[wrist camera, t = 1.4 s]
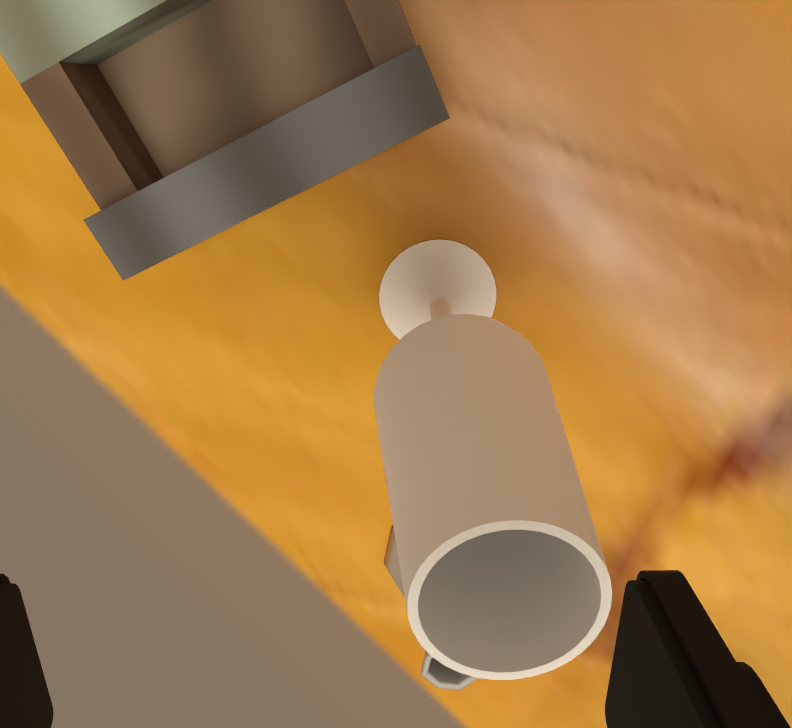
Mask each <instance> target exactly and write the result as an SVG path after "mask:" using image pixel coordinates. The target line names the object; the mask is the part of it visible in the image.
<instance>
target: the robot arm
mask: <svg viewBox="0 0 792 728" xmlns="http://www.w3.org/2000/svg"><path fill="white" fill-rule="evenodd" d="M605 716H606V723H607V728H790V726H789V725H788V723H787V721H786V720H785V718H784V717H783V715H782V713H781V712H780V710H779V709H778V707H777V705H776V704H775V702H774V701H773V699H772V697H771V696H770V694H769V693H768V691H767V689H766V688H765V686H764V685H763V683H762V681H761V680H760V678H759V677H758V675H757V674H756V673H755V672H754V670H753V669H752V668H751V667H750V666H748V665H747V664H746V663H744V662H736V661H735V659H734V658H733V656H732V654H731V653H730V651H729V649H728V648H727V646H726V644H725V643H724V641H723V639H722V638H721V636H720V634H719V633H718V631H717V629H716V628H715V626H714V624H713V623H712V621H711V619H710V618H709V616H708V614H707V613H706V611H705V609H704V608H703V606H702V604H701V603H700V601H699V599H698V598H697V596H696V594H695V593H694V591H693V589H692V588H691V586H690V584H689V583H688V581H687V580H686V578H685V576H684V575H683V574H682V573H681V572H680V571H678V570H668V571H640V572H639V574H638V576H637V579H636V580H630V581H628V582H627V583H626V587H625V592H624V598H623V604H622V610H621V616H620V621H619V627H618V633H617V639H616V645H615V651H614V656H613V662H612V668H611V674H610V680H609V685H608V691H607V697H606V703H605ZM52 720H53V706H52V703H51V699H50V696H49V692H48V688H47V685H46V681H45V678H44V674H43V670H42V667H41V663H40V660H39V656H38V653H37V649H36V646H35V642H34V638H33V635H32V631H31V628H30V624H29V621H28V617H27V613H26V610H25V607H24V603H23V599H22V595H21V592H20V589H19V587H18V586H17V585H16V584H12V583H10V581H9V579H8V577H6V576H5V575H4V574H0V728H51V725H52Z"/></svg>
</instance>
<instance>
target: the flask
mask: <svg viewBox="0 0 792 728" xmlns="http://www.w3.org/2000/svg"><path fill="white" fill-rule="evenodd" d="M384 564H385V566H386V568H387V569H388V571H389V573H390V574H391V576H392V578H393V579H394V581H395V582H396V584H397V586H398V587H399V589H400V591H401V592H402V594H403V596H404V597H405V595H404V589H403V583H402V577H401V570H400V564H399V558H398V552H397V546H396V539H395V533H394V527H393V528H392V529H391V534H390V539H389V543H388V548H387V552H386V557H385V561H384ZM421 675H422V676H423V677H424V678H426V679H427V680H428V681H429V682H431V683H432V684H433V685H434V686H435V687H437V688H444V689H452V690H461V689H463V688H464V687H466V686H467V685H469V684H470V683H472V682H473V681H475V680H476V679H478V678H477V677H473V676H469V675H466V674H462V673H459V672H457V671H455V670H453V669H451V668H448V667H446V666H444V665H443V664H442V663H440V662H439V661H437V660H436V659H434V658H433V657H432V656H431V655H430V654H429V653H428V652H427V651H426V650H425V657H424V661H423V665H422V669H421Z"/></svg>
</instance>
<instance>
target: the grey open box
mask: <svg viewBox="0 0 792 728" xmlns="http://www.w3.org/2000/svg"><path fill="white" fill-rule="evenodd" d="M0 54H1V55H2V57H3V58H4V60H5V61H6V63H7V64H8V66H9V68H10V69H11V71H12V72H13V74H14V75H15V77H16V78H17V80H18V82H19V83H20V85H21V86H22V88H23V89H24V91H25V93H26V94H27V96H28V97H29V99H30V100H31V102H32V103H33V105H34V107H35V108H36V110H37V111H38V113H39V114H40V116H41V117H42V119H43V121H44V122H45V124H46V125H47V127H48V128H49V130H50V131H51V133H52V135H53V136H54V138H55V139H56V141H57V142H58V144H59V146H60V147H61V149H62V150H63V152H64V153H65V155H66V156H67V158H68V160H69V161H70V163H71V164H72V166H73V167H74V169H75V170H76V172H77V174H78V175H79V177H80V178H81V180H82V181H83V183H84V184H85V186H86V188H87V189H88V191H89V192H90V194H91V195H92V197H93V199H94V200H95V202H96V203H97V205H98V206H99V208H100V209H101V211H99V212H97V213H96V214H94V215H92V216H90V217H88V218H86V219H84V221H85V223H86V225H87V226H88V228H89V229H90V231H91V232H92V234H93V235H94V237H95V238H96V240H97V241H98V243H99V244H100V246H101V247H102V249H103V250H104V252H105V254H106V255H107V257H108V258H109V260H110V261H111V263H112V264H113V266H114V267H115V269H116V270H117V272H118V273H119V275H120V276H121V278H122V279H123V280H125V279H127V278H129V277H131V276H133V275H135V274H137V273H139V272H141V271H143V270H145V269H147V268H149V267H151V266H153V265H155V264H157V263H159V262H161V261H163V260H165V259H168V258H170V257H172V256H174V255H176V254H178V253H180V252H182V251H184V250H186V249H188V248H190V247H192V246H194V245H196V244H198V243H200V242H202V241H204V240H206V239H208V238H210V237H212V236H214V235H216V234H218V233H220V232H222V231H224V230H226V229H228V228H230V227H232V226H234V225H236V224H238V223H240V222H242V221H244V220H246V219H248V218H250V217H252V216H254V215H256V214H258V213H260V212H262V211H264V210H266V209H268V208H270V207H272V206H274V205H276V204H278V203H280V202H282V201H284V200H286V199H288V198H290V197H292V196H294V195H296V194H298V193H300V192H302V191H304V190H306V189H308V188H310V187H312V186H314V185H316V184H318V183H320V182H322V181H324V180H326V179H328V178H330V177H332V176H334V175H336V174H338V173H340V172H342V171H344V170H346V169H348V168H350V167H352V166H354V165H356V164H358V163H360V162H362V161H364V160H366V159H368V158H370V157H372V156H374V155H376V154H378V153H380V152H382V151H384V150H386V149H388V148H390V147H392V146H394V145H396V144H399V143H401V142H403V141H405V140H407V139H409V138H411V137H413V136H415V135H417V134H419V133H421V132H423V131H425V130H427V129H429V128H431V127H433V126H435V125H437V124H439V123H441V122H443V121H445V120H447V119H449V118H450V117H449V115H448V112H447V110H446V108H445V105H444V103H443V100H442V98H441V95H440V93H439V91H438V88H437V86H436V83H435V81H434V78H433V76H432V74H431V71H430V69H429V66H428V64H427V62H426V59H425V57H424V54H423V52H422V49H421V47H420V45H418V46H417V45H416V43H415V40H414V38H413V35H412V33H411V31H410V28H409V26H408V23H407V21H406V19H405V16H404V14H403V11H402V9H401V7H400V4H399V2H398V0H0Z"/></svg>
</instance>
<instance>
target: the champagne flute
mask: <svg viewBox="0 0 792 728" xmlns="http://www.w3.org/2000/svg"><path fill="white" fill-rule="evenodd" d="M379 303H380V309H381V313H382V316H383V318H384V321H385V323H386V325H387V326H388V328H389V329H390V330H391V332H392V333H393V334H394V335H395V336H396V337H397V338H398V339H399V341H398V342H397V343H396V344H395V345H394V346H393V348H392V349H391V351H390V352H389V354H388V355H387V357H386V358H385V360H384V361H383V363H382V365H381V368H380V370H379V373H378V375H377V378H376V383H375V389H374V408H375V415H376V421H377V427H378V434H379V440H380V446H381V452H382V458H383V465H384V471H385V477H386V483H387V490H388V496H389V502H390V508H391V514H392V521H393V527H394V533H395V539H396V546H397V552H398V558H399V564H400V570H401V577H402V583H403V589H404V595H405V601H406V608H407V614H408V618H409V622H410V625H411V628H412V631H413V633H414V635H415V636H416V638H417V640H418V642H419V643H420V645H421V646H422V647H423V648H424V649H425V650H426V651H427V652H428V653H429V654H430V655H431V656H432V657H433V658H434V659H436V660H437V661H439V662H440V663H442V664H443V665H444V666H446V667H448V668H451V669H453V670H455V671H457V672H459V673H462V674H466V675H469V676H473V677H477V678H483V679H492V680H513V679H521V678H526V677H532V676H536V675H539V674H542V673H545V672H548V671H551V670H554V669H555V668H557V667H559V666H561V665H563V664H565V663H567V662H569V661H571V660H572V659H573V658H575V657H576V656H577V655H579V654H580V653H582V652H583V651H584V650H585V649H586V648H587V647H588V646H589V645H590V644H591V643H592V642H593V641H594V640H595V639H596V637H597V636H598V634H599V632H600V631H601V629H602V628H603V626H604V625H605V622H606V620H607V617H608V614H609V612H610V608H611V600H612V588H611V581H610V576H609V573H608V570H607V566H606V563H605V560H604V557H603V553H602V550H601V547H600V544H599V540H598V537H597V534H596V531H595V528H594V524H593V521H592V518H591V515H590V511H589V508H588V505H587V502H586V498H585V495H584V492H583V489H582V486H581V482H580V479H579V476H578V473H577V469H576V466H575V463H574V460H573V456H572V453H571V450H570V447H569V443H568V440H567V437H566V434H565V431H564V427H563V424H562V421H561V418H560V414H559V411H558V408H557V405H556V401H555V398H554V395H553V392H552V389H551V385H550V382H549V379H548V376H547V372H546V370H545V367H544V365H543V362H542V360H541V357H540V356H539V354H538V353H537V352H536V350H535V349H534V347H533V346H532V344H531V343H530V342H529V341H528V340H527V339H525V338H524V337H523V336H522V335H521V334H520V333H519V332H517V331H516V330H514V329H512V328H511V327H509V326H507V325H506V324H504V323H502V322H500V321H497V320H494V319H491V317H492V315H493V312H494V308H495V304H496V285H495V280H494V277H493V275H492V272H491V270H490V268H489V266H488V265H487V263H486V262H485V261H484V259H483V258H482V257H481V256H480V255H479V254H478V253H477V252H475V251H474V250H472V249H471V248H469V247H467V246H466V245H463V244H460V243H458V242H455V241H449V240H429V241H425V242H420V243H418V244H416V245H413V246H411V247H409V248H407V249H406V250H405V251H403V252H402V253H400V254H399V255H398V256H397V257H396V258H395V259H394V260H393V261H392V262H391V264H390V265H389V267H388V269H387V270H386V272H385V274H384V276H383V279H382V282H381V286H380V292H379Z"/></svg>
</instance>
